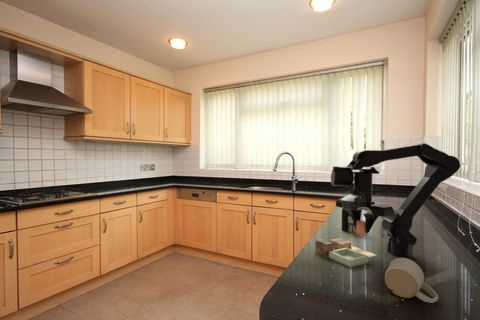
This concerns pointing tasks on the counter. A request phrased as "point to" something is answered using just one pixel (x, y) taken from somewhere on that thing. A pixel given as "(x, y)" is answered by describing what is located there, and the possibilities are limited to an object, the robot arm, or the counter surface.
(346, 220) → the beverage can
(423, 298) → the ceramic mug
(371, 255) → the board
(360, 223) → the reddish orange cube
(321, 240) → the brown block
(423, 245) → the counter surface
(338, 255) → the tray
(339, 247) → the light brown wooden block
